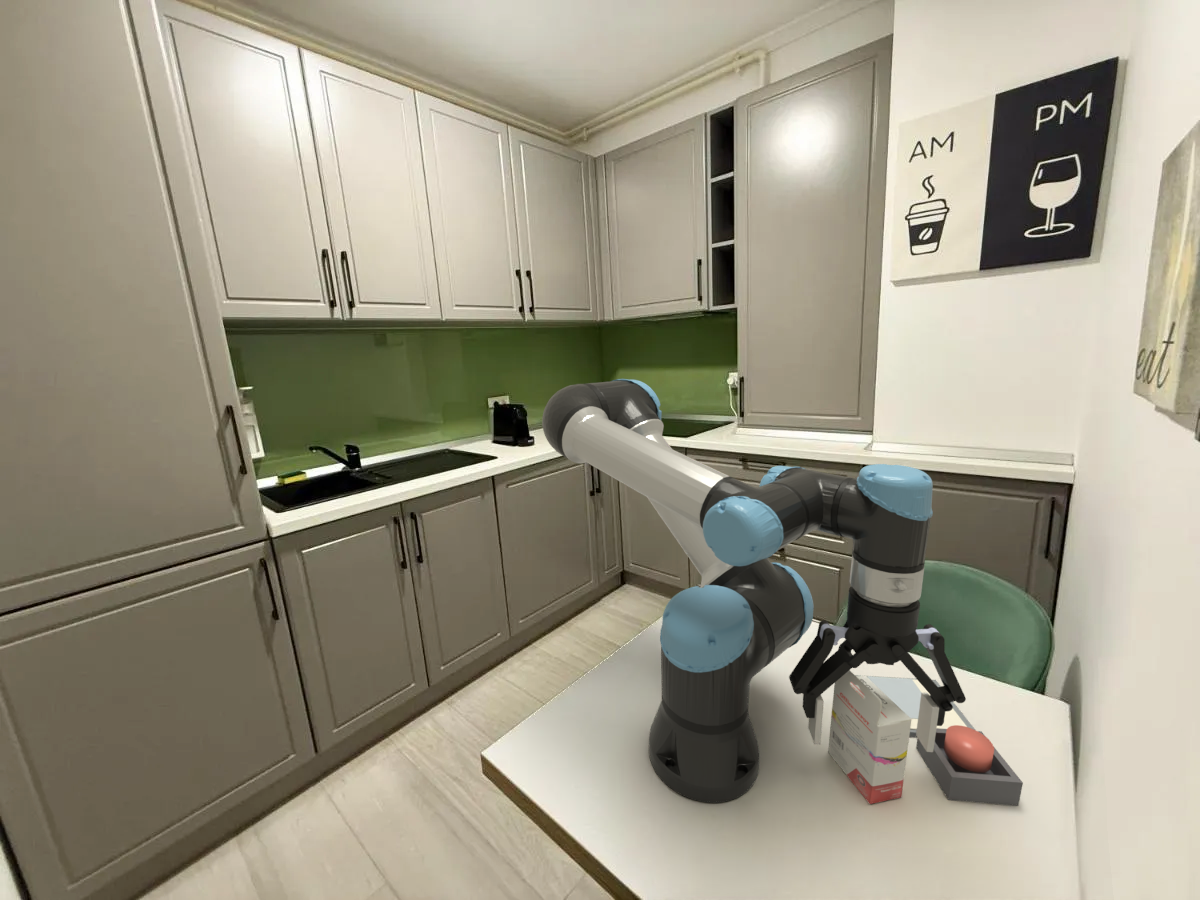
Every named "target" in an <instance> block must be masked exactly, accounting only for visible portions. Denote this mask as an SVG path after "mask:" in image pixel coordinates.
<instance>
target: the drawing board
mask: <svg viewBox="0 0 1200 900" xmlns="http://www.w3.org/2000/svg"><path fill="white" fill-rule="evenodd" d="M854 675H855V674H854ZM855 676H856V677H857V676H862V675H861V674H860V675H857V674H856V675H855ZM866 676H867V677H868V678H869V679H870V680H871V681H872V682H873V683H874V684H875V685H876V686H877V687H878V688H879V689H880V690H881V691H882V692H883V693H884V694H885V695H887V696H888V697H889V698H890V699H891V700H892V701H893V702H894V703H895V704H896V705H897V706H898V707H899V708H900V709H901V710H902V711H904V712H905V713H906V714H907V715H908V716H909V717H910V718H911V719H912V720H911V727H910V734H909V738H918V737H917V736H916V731H917V723H918V716H919V708H920V700H921V692H922V693H928V694H929V692H928V691H927V690H926V689H925V688H924V687H923V686H922V684H921V683H920V682H919V681H918V680H917V679H916V678H913V677H912V678H910V677H906V678H905V677H895V676H894V677H892V676H889V677H888V676H876V675H875V676H874V675H866ZM931 680H932V681H933V682H934V683H935V684H936V685H937V687H941V685H940V683H939V682H938V681H937V679H931ZM929 695H930V694H929ZM950 703H951V704H952V706H953V708H952V710H951V711H945V717H944V723H943V725H942V726H937V728H940V729H947V728H948V727H950V726H954V725H960V726H965V727H969V728H971V729H974V730H976V729H975V727H974V726H973V724H971V722H970V721H969V720H968V718H967V717H966V715H964V713H963V712H962V711H961V710H960V709H959V707H958V706H957V705H956V704H955V701H954V702H950Z"/></svg>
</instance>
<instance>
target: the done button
mask: <svg viewBox="0 0 1200 900" xmlns="http://www.w3.org/2000/svg"><path fill="white" fill-rule="evenodd" d="M974 729H975V728H974ZM974 729H971V728H969V727H965V726H960V725H954V726H950V727H948V728H947V731H946V737H945V743H944V751H945V753H946V755H947V756H948V757H949V758H950V759H951V760H952V761H953V762H954V763H955V764H957V765H959V766H960V767H962V768H964V769H966V770H969V771H972V772H977V773H984V772H988V771H989V770H990V769H991V765H992V760H993V754H994V747H995V746H994V745H993V743H992V742H991V740H990V739H989V738H988V737H987V736H986V735H985V734H984V733H983V734H984V735H985V736H986V737H985V736H984V735H983V734H981V733H980V732H978V731H979V730H976V729H975V730H974Z"/></svg>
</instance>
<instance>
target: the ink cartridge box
mask: <svg viewBox="0 0 1200 900" xmlns="http://www.w3.org/2000/svg"><path fill="white" fill-rule="evenodd" d="M867 676H868V675H861V676H857V677H856V676H855V674H854V672H852V671H851V669H850V670H849V671H848V672H847V673H845V674H844V675H843V676H842V677H841V678H840V679H838V680H837V681H836V682H835V683H834V684H833V685H834V687H833V696H832V697H833V698H832V707H831V717H830V727H829V728H830V729H829V737H828V748H827V750H828V751H827V752H828V754H829V755H830V756H831V757H832V758H833V760H834V762H836V764H837V765H838V766H839V767H840V768H841V770H842V772H843V773H845V775H846V776H847V777H848V779H849V780H850V782H851V783H852V784H853V785H854V786H855V787H856V789H857V790H858V792H860V794H861V795H862V797H863V798H864V799H865V800H866V802H867V803H868V804H869V805H872V804H876V803H877V804H878V803H881V802H885V801H892V800H895V799H900V798H902V796H903V795H902V794H903V786H904V780H905V779H904V778H905V772H906V765H907V759H908V758H907V755H908V749H909V742H910V741H909V740H910V737H909V734H910V727H911V720H912V719H911V718H910V717H909V716H908V715H907V714H906V713H905V712H904V711H902V710H901V709H900V708H899V707H898V706H897V705H896V704H895V703H894V702H893V701H892V700H891V699H890V698H889V697H888V696H887V695H885V694H884V693H883V692H882V691H881V690H880V689H879V688H878V687H877V686H876V685H875V684H874V683H873V682H872V681H871V680H870V679H869V678H868V677H867Z"/></svg>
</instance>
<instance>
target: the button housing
mask: <svg viewBox="0 0 1200 900" xmlns="http://www.w3.org/2000/svg"><path fill="white" fill-rule="evenodd" d="M946 731H947V729H940V728H936V735H935V742H934V749H933V752H926V750H925V748H924V747H923V745H922V744H921V742H920V741H919V739H918V738H917V740H916V746H915V749H916V750H917V752H918V753H919V755H920V757H921V758H922V760H923V761H924V763H925V765H926V766H927V768H928V769H929V772H930V773H931V774H932V776H933V778H934V779H935V781H936V783H937V785H939V788H940V790H941V791H942V792H943V794H944V796H945V797H946V799H947V800H948V801H954V802H955V801H957V802H966V803H968V802H969V803H979V804H980V803H982V804H990V805H1001V806H1002V805H1003V806H1015V807H1019V803H1020V799H1021V795H1022V788H1023V786H1024V785H1023V784H1024V781H1022V780H1021V779H1020V777H1019V776H1018V775H1017V773H1016V772H1015V771H1014V769H1012V768H1011V766H1010V765H1009V764H1008V762H1007V761H1006V759H1005V758H1004V757H1003V756H1002V754H1000V753H999V751H998V750H997V749H996V747H995V746H994V754H993V760H992V765H991V769H990V770H989V771H988V772H984V773H977V772H972V771H969V770H966V769H964V768H962V767H960V766H959V765H957V764H955V763H954V762H953V761H952V760H951V759H950V758H949V757H948V756H947V755H946V753H945V751H944V743H945V737H946ZM977 731H978V732H980V733H981V734H983V735H984V736H985V737H987V736H986V735H985V733H983V731H981V730H977Z"/></svg>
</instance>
